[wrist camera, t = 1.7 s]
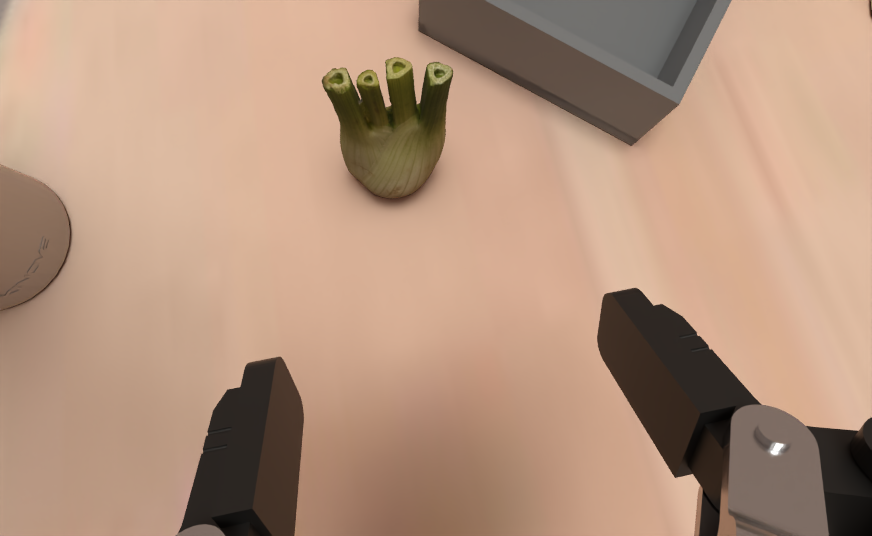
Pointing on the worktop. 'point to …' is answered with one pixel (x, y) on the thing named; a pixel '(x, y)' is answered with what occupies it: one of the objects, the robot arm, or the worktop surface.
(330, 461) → the worktop surface
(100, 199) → the worktop surface
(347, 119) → the fennel bulb
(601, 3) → the bin
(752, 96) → the worktop surface
